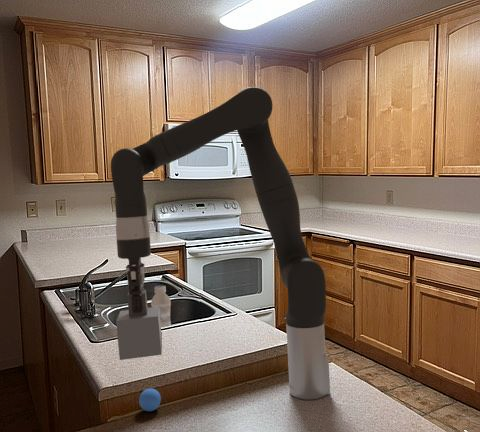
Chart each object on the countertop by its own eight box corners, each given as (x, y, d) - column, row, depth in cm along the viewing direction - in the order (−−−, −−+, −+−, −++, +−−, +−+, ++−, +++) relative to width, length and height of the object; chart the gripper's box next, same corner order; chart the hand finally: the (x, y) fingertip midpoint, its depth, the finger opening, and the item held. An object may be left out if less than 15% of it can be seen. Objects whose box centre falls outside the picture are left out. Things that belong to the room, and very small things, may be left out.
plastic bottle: (170, 348, 152) (166, 288, 151) (150, 348, 154) (146, 288, 153) (176, 342, 159) (173, 284, 158) (158, 342, 160) (154, 284, 159)
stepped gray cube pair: (162, 342, 113) (157, 286, 112) (161, 354, 104) (156, 294, 103) (123, 346, 112) (118, 290, 111) (119, 360, 103) (113, 298, 102)
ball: (153, 381, 111) (135, 392, 111) (152, 389, 106) (134, 402, 106) (164, 397, 112) (147, 409, 111) (164, 407, 107) (145, 419, 106)
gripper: (148, 237, 100) (153, 316, 101) (151, 232, 114) (155, 301, 115) (112, 240, 99) (118, 319, 100) (120, 235, 113) (124, 304, 114)
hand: (138, 309), depth 107 cm, fingers closed on stepped gray cube pair, 4 cm apart
